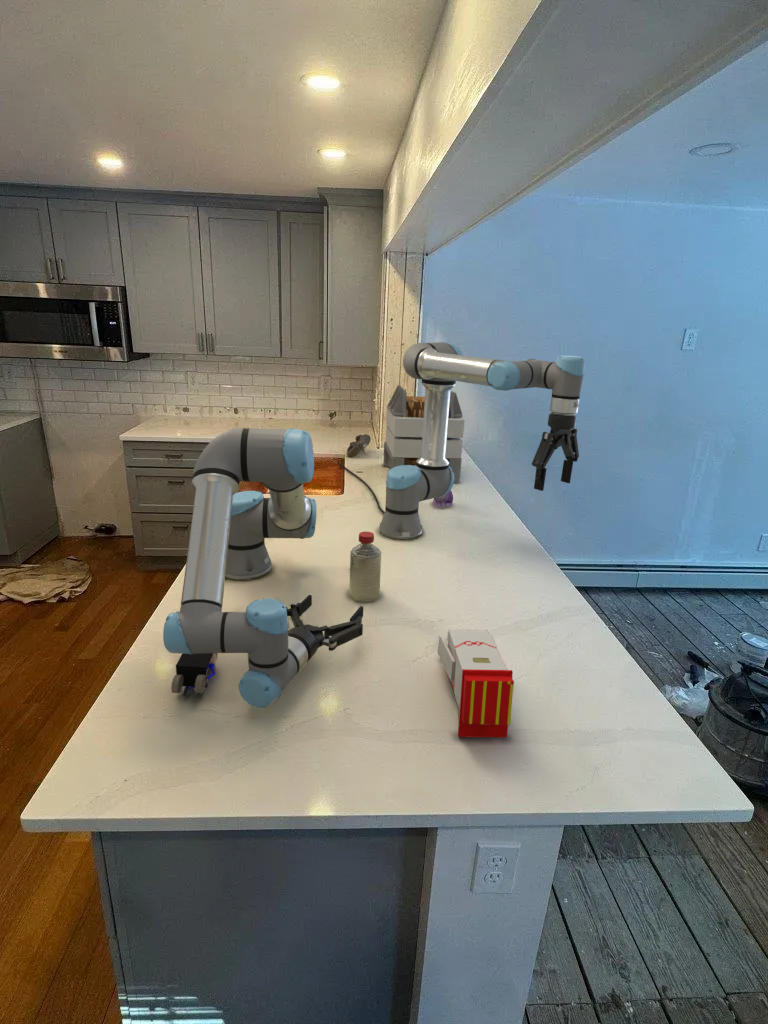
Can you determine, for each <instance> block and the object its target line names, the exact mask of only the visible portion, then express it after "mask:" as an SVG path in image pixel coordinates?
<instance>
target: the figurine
mask: <svg viewBox="0 0 768 1024" xmlns="http://www.w3.org/2000/svg"><path fill="white" fill-rule="evenodd" d="M453 501H454V495H453V491H452V489H451V490H450V491H449V492H448V493H447V494H445V495H443V496H441V497H438V498H433V501H432V505H433V506H434V507H435V508H436V509H445V508H450V507H451V506H452V505H453Z"/></svg>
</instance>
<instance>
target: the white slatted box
mask: <svg viewBox="0 0 768 1024" xmlns="http://www.w3.org/2000/svg"><path fill="white" fill-rule="evenodd" d="M407 394H408V393H407V390H406V389H404V388H403V387H402V385H399V384H398V385H397V386H396V388H395V390H394V392H393V394H392V395H391V398H390V400H389V402H388V404H387V405H386V413H385V414H386V415H385V423H386V428H385V438H384V442H383V466H384V467H388V468H389V470H390V469H392V468H394V467H396V466H401V465H404V466H405V465H413V466H416V461H417V459H418V458H420V457H421V449H422V434H423V419H424V404H425V396H415V395H414V396H413V395H412V396H411V395H407ZM464 429H465V419H464V418H463V411H462V408H461V405H460V402H459V398H458V395H457V392H455V391H453V390H451V392H450V404H449V416H448V428H447V441H446V453H445V458H446V459H447V461H448V462H449V466H450V467H451V469H452V473H454V484H455V483H456V484H459V483H461V472H462V461H463V460H462V453H463V442H464V441H463V440H462V439H463V438H464V431H465V430H464Z"/></svg>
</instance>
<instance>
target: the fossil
mask: <svg viewBox="0 0 768 1024" xmlns="http://www.w3.org/2000/svg"><path fill="white" fill-rule="evenodd" d="M354 440H355V441H351V442H350V443H349V446H348V447H347V450H346V456H347V457H348V458H352V457H355V456H357V455H359V454H360V453H361V452H363V453H364V454H366V452H365V449H366V448H367V446H369V445H370V443H371V440H372V439H371V436H370V434H367V433H365V434H358V435H356V436H355V438H354Z"/></svg>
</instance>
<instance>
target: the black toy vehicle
mask: <svg viewBox="0 0 768 1024" xmlns="http://www.w3.org/2000/svg"><path fill="white" fill-rule="evenodd" d="M217 661H218V653H206V654H192V655H190V654H181V655H180V656H179V658H178V660H177V662H176V664H175V674H174V676H173V678H172V681H171V685H170V686H171V687H170V688H171V689H170V690H171V693H172V694H180V693H181V692H182V693H181V696H182V698H186V697H187V696H188V693H189V690H190V688H191V689H194V693H195V694H196V698H197V699H198V698H200V697H201V695H202V694H203V693H204V692H205V689H207V688H208V683H209V681H210V680H211V678H212V677H213V676H214V675H216V670H215V667H216V663H217ZM209 669H210V671H211V672H210V673H209V674H208V671H209ZM183 687H184V690H183ZM182 690H183V691H182Z"/></svg>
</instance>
